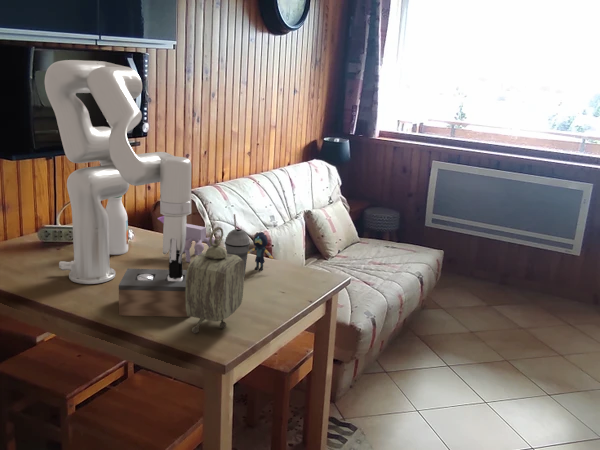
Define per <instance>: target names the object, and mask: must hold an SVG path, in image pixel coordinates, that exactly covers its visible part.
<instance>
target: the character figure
mask: <svg viewBox="0 0 600 450" xmlns="http://www.w3.org/2000/svg"><path fill="white" fill-rule="evenodd" d="M252 243H253V245H254V246H255V247H253V248H251V249H249V250H248V254H247V255H249V254H251V253H253V252H255V251H256V252H255V256H256V257H255V261H254V262H255V263H256V266H255V267H254V270H255V271H257V270H258V271H259V272H261V271H263V270H264V263H265V254H266V255H267V256H268V257H269V259H271V260H273V259H274V257H273V256H272V255H271V253H270V252H269V251H268V249H266V246H267V245H268V244H269V241H268V238H267V235H266V234H264V232H258V233H257V234H255V236H253V240H252ZM264 253H265V254H264Z"/></svg>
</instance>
